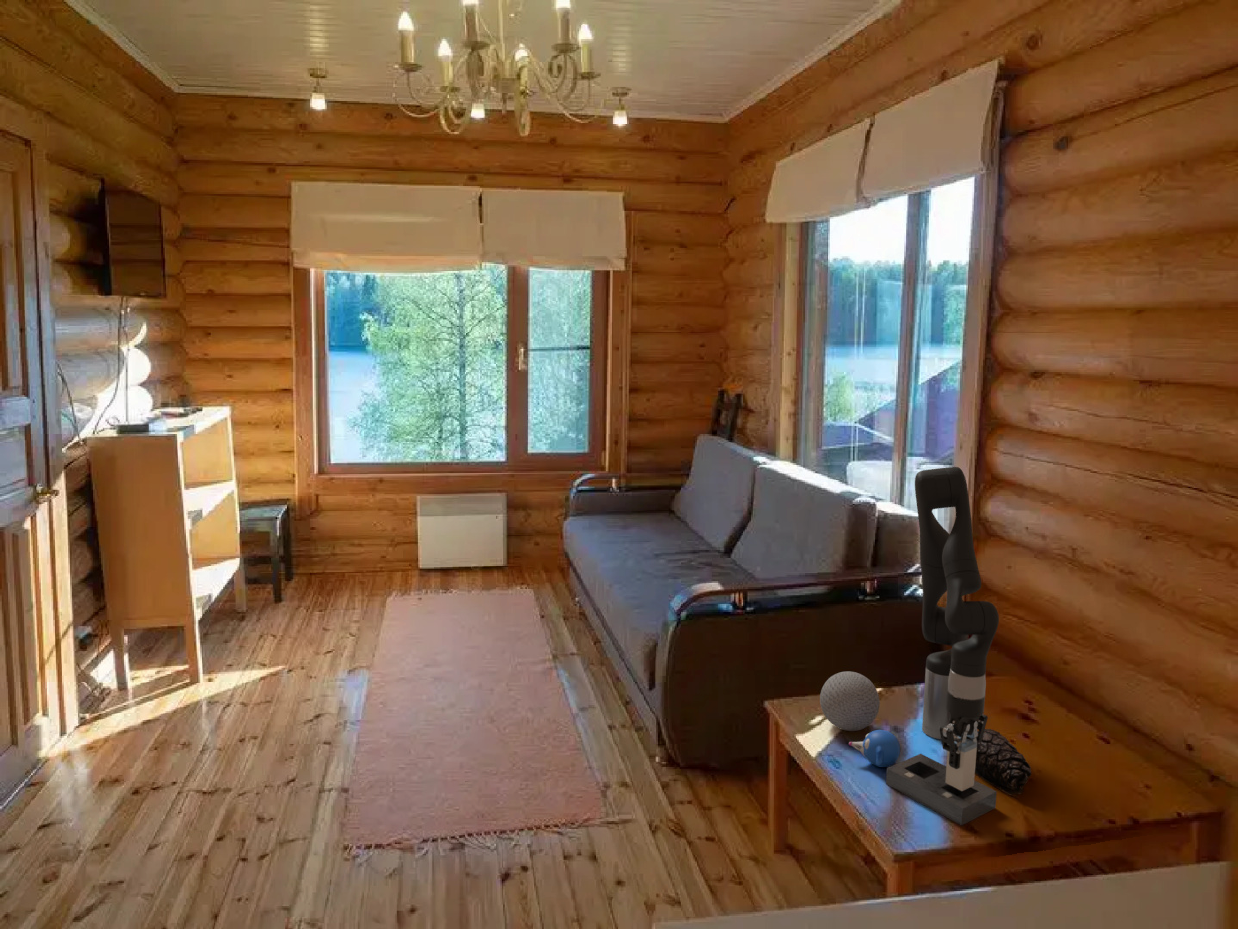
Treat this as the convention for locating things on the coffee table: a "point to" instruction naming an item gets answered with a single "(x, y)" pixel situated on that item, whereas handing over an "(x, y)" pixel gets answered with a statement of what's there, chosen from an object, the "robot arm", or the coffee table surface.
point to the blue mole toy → (879, 748)
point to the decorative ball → (849, 701)
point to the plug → (963, 767)
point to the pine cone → (1001, 763)
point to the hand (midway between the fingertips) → (961, 763)
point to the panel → (940, 789)
